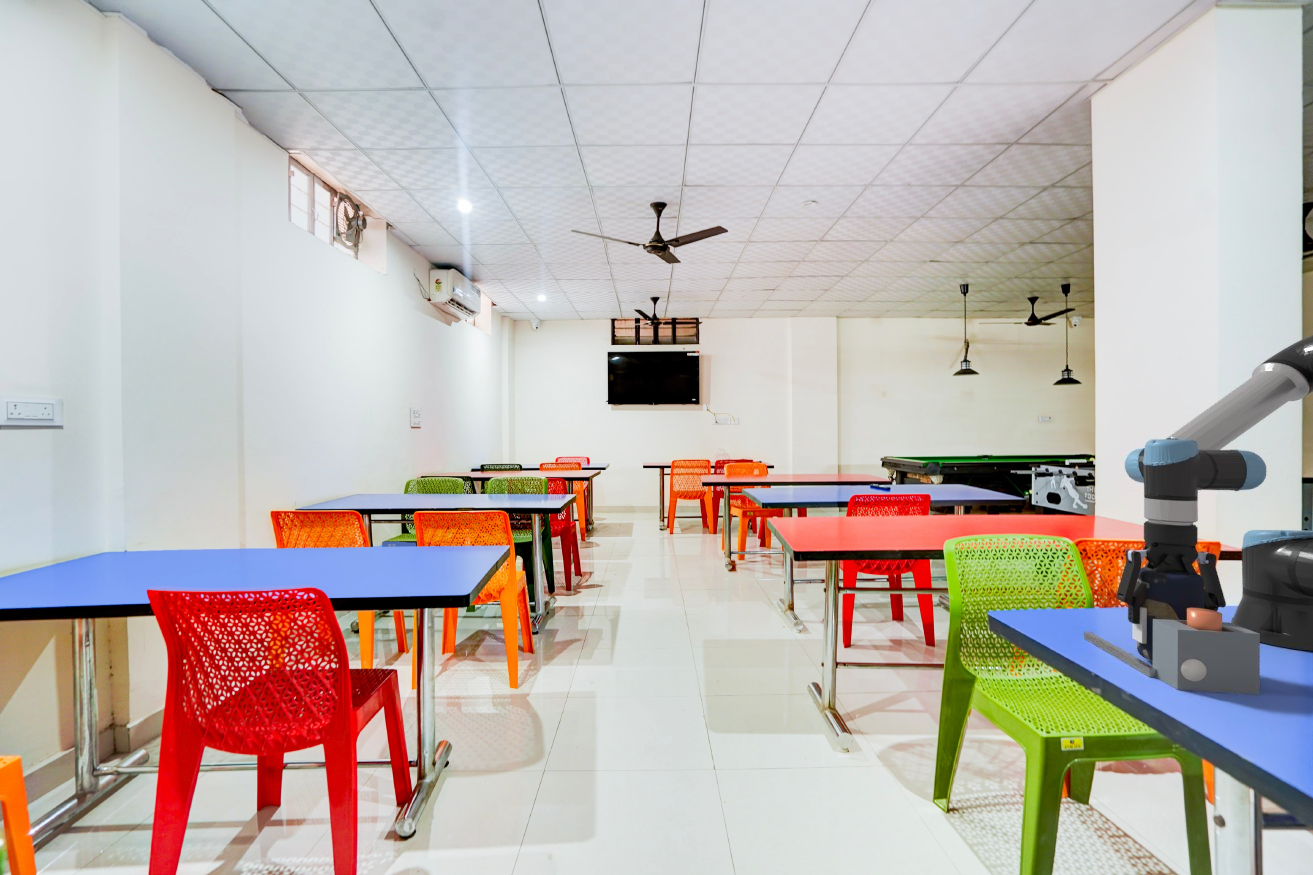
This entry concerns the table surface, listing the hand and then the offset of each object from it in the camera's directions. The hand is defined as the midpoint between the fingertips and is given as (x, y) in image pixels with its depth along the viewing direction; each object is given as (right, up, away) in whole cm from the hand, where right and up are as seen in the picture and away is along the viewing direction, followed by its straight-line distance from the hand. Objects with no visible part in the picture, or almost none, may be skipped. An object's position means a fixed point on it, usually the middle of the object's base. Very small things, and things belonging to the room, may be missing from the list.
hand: (1169, 642), depth 108 cm
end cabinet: (-2, -4, -9) cm, 10 cm away
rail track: (0, -4, +3) cm, 5 cm away
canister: (0, -4, 0) cm, 4 cm away
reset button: (-2, +4, -9) cm, 10 cm away
